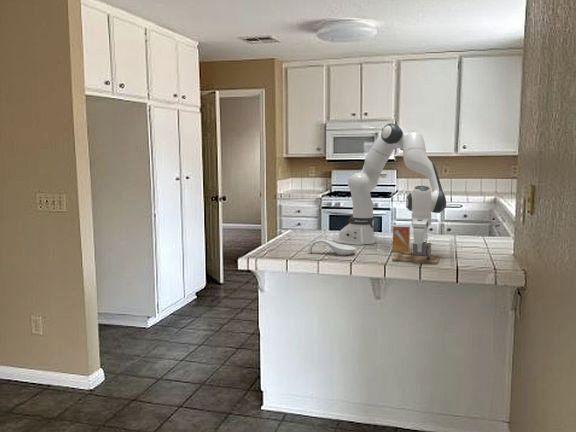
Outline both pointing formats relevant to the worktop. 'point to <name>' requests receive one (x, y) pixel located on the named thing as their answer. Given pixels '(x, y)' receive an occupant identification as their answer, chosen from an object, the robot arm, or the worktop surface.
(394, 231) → the small box
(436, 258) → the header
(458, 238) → the worktop surface
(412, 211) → the robot arm
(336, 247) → the spoon rest
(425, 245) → the grey block
